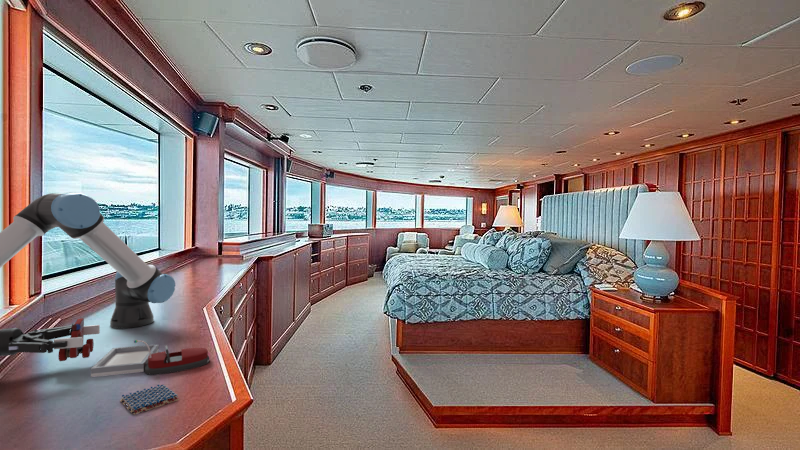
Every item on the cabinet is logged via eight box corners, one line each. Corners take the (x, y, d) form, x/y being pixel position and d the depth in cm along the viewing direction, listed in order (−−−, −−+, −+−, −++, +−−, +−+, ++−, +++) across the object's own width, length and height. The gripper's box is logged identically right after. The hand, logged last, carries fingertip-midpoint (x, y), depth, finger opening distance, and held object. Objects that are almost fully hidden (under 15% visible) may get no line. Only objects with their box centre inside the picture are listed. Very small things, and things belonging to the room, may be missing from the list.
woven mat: (132, 418, 92) (132, 409, 92) (118, 403, 99) (118, 395, 99) (180, 402, 100) (180, 394, 100) (164, 389, 107) (164, 382, 107)
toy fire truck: (56, 365, 112) (55, 329, 111) (67, 351, 123) (66, 318, 122) (87, 361, 115) (86, 326, 115) (95, 348, 126) (94, 315, 126)
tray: (113, 355, 130) (113, 348, 130) (158, 351, 134) (158, 344, 134) (90, 377, 113) (90, 368, 113) (143, 371, 117) (143, 363, 117)
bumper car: (211, 366, 123) (211, 334, 122) (133, 380, 112) (133, 345, 111) (206, 356, 131) (207, 326, 131) (134, 368, 120) (134, 335, 120)
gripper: (24, 342, 124) (106, 335, 131) (-29, 371, 102) (73, 362, 109) (23, 318, 124) (105, 313, 131) (-30, 343, 101) (72, 335, 108)
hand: (91, 335), depth 120 cm, fingers closed on toy fire truck, 12 cm apart
